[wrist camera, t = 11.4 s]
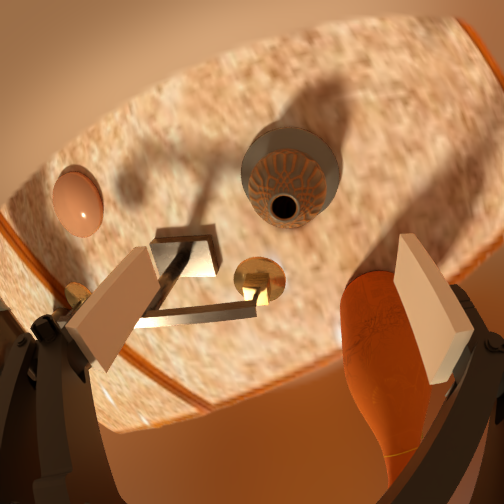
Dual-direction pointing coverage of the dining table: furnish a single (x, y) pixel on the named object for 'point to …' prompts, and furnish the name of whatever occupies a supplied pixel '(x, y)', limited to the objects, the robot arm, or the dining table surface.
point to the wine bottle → (384, 367)
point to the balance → (197, 265)
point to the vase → (287, 188)
